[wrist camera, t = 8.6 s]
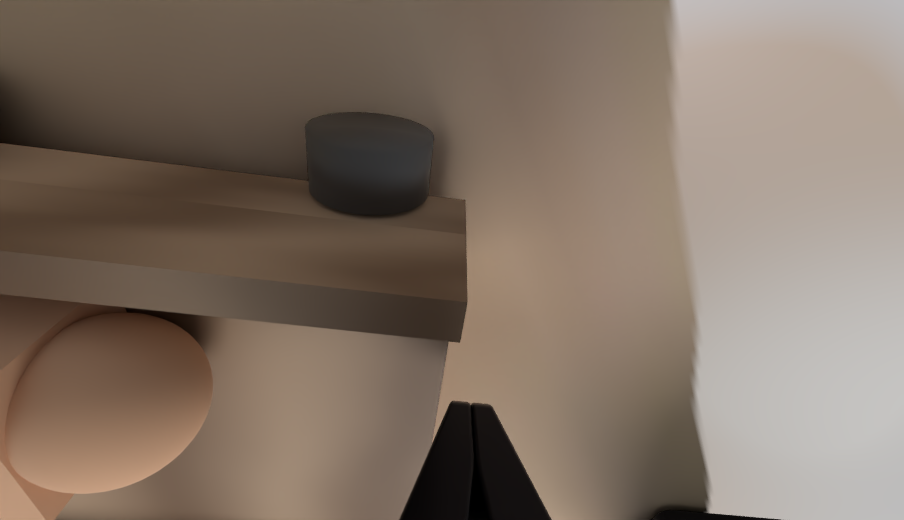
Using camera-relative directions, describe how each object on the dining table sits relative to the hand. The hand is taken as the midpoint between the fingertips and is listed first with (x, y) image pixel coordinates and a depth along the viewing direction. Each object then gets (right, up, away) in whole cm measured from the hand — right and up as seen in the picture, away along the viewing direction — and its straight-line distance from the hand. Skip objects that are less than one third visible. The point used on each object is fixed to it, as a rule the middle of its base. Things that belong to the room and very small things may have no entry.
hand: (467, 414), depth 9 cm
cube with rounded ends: (-9, +2, +1) cm, 9 cm away
